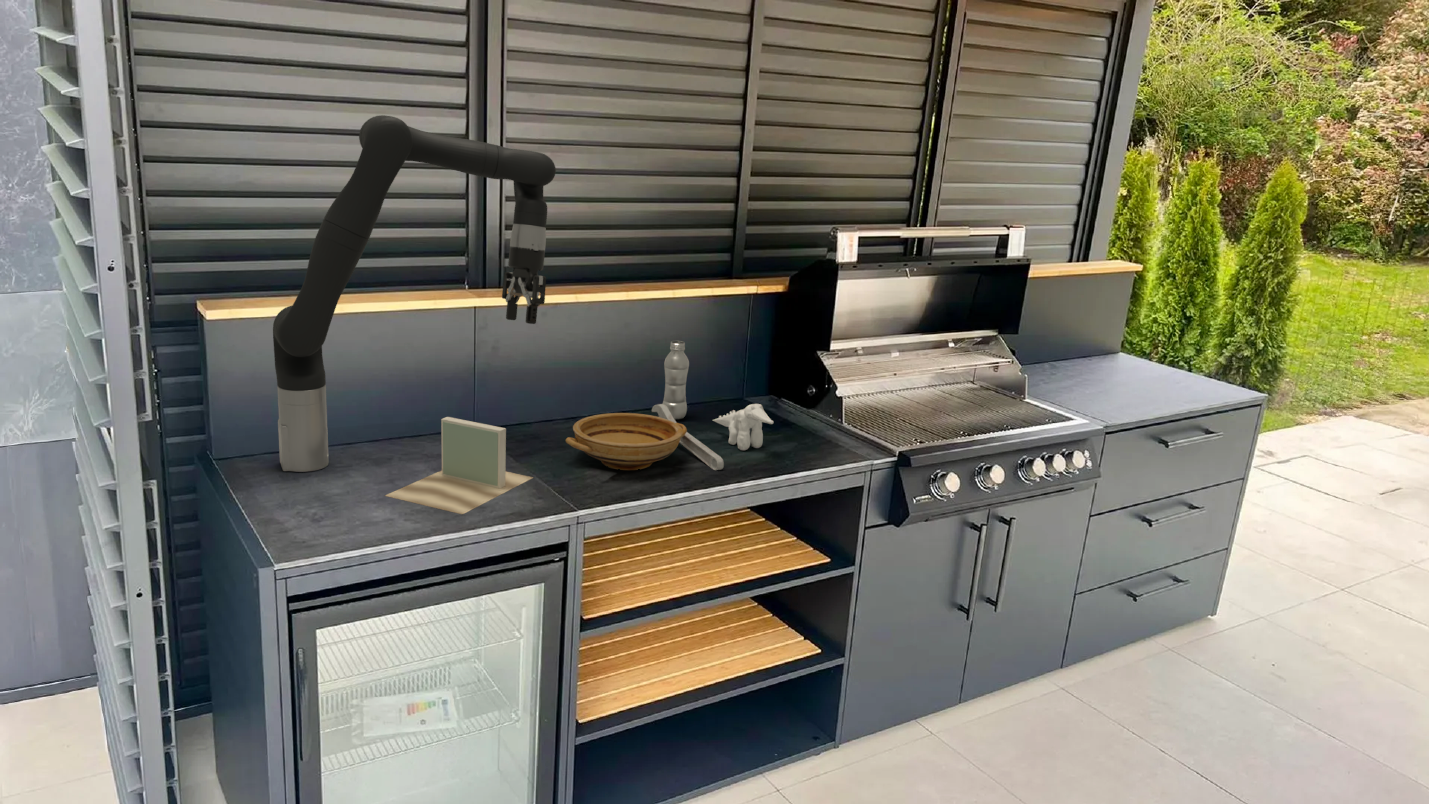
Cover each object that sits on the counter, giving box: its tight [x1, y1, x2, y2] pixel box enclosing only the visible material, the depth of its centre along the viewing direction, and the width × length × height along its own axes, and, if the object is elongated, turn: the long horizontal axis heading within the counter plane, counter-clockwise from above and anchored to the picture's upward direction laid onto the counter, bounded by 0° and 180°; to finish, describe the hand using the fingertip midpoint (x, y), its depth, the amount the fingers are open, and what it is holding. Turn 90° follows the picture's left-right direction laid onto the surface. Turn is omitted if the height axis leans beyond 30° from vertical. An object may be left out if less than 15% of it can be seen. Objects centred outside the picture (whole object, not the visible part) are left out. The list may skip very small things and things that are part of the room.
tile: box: [440, 416, 507, 489], centre depth 210 cm, size 14×2×12 cm, turn 67°
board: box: [384, 469, 534, 515], centre depth 208 cm, size 24×18×2 cm
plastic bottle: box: [662, 340, 690, 420], centre depth 266 cm, size 6×7×20 cm
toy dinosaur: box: [712, 403, 774, 451], centre depth 250 cm, size 7×24×11 cm, turn 35°
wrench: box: [651, 403, 725, 471], centre depth 242 cm, size 8×2×30 cm
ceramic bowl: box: [565, 412, 688, 471], centre depth 232 cm, size 30×24×8 cm
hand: (520, 321), depth 228 cm, fingers open, 8 cm apart
